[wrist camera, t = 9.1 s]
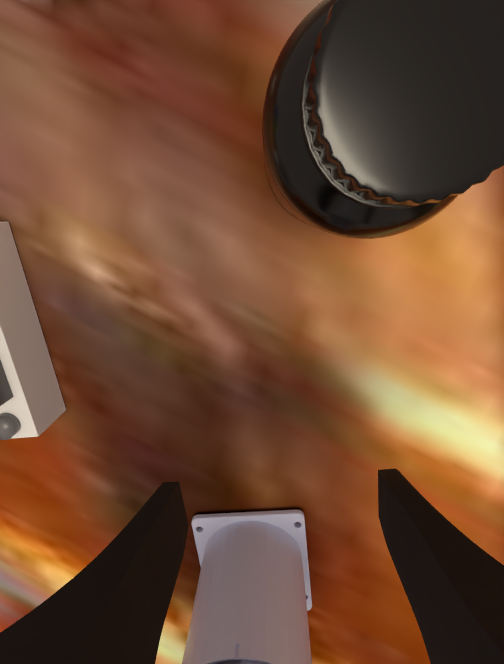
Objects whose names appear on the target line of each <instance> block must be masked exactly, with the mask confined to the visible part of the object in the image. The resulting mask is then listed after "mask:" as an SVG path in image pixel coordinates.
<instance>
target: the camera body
mask: <svg viewBox="0 0 504 664" xmlns="http://www.w3.org/2000/svg"><path fill="white" fill-rule="evenodd" d="M65 411H66V407H65V404H64V401H63V397H62V394H61V391H60V388H59V384H58V381H57V378H56V375H55V371H54V368H53V365H52V362H51V358H50V355H49V352H48V349H47V345H46V342H45V339H44V336H43V332H42V329H41V326H40V323H39V319H38V316H37V313H36V310H35V306H34V303H33V300H32V297H31V294H30V290H29V287H28V284H27V281H26V277H25V274H24V271H23V268H22V264H21V261H20V258H19V255H18V251H17V248H16V245H15V242H14V238H13V235H12V232H11V229H10V225H9V222H0V439H1V440H8V439H10V438H23V437H37V436H39V435H40V434H41V433H43V432H44V431H45V430H46V429H47V428H48V427H49V426H50V425H51V424H52V423H53V422H54V421H55V420H56V419H57V418H58V417H59V416H60V415H61V414H62V413H63V412H65Z"/></svg>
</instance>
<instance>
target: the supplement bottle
mask: <svg viewBox="0 0 504 664" xmlns="http://www.w3.org/2000/svg"><path fill="white" fill-rule="evenodd" d="M263 147H264V162H265V170H266V175H267V178H268V182H269V185H270V187H271V190H272V192H273V194H274V195H275V197H276V199H277V200H278V202H279V203H280V204H281V205H282V207H283V208H284V209H285V210H286V211H287V212H288V213H290V214H291V215H292V216H294V217H295V218H296V219H298V220H300V221H302V222H304V223H306V224H308V225H311V226H313V227H316V228H319V229H321V230H324V231H326V232H329V233H332V234H335V235H339V236H344V237H349V238H359V239H373V238H383V237H388V236H393V235H396V234H399V233H403V232H405V231H408V230H410V229H413V228H415V227H417V226H419V225H421V224H423V223H424V222H426V221H428V220H429V219H431V218H433V217H434V216H435V215H437V214H438V213H439V212H441V211H442V210H443V209H445V208H446V207H447V206H448V205H449V204H450V203H451V202H452V201H453V200H454V199H455V198H456V197H457V196H458V195H460V194H463V193H464V192H465V191H466V190H468V189H469V188H470V187H471V186H472V185H475V184H479V183H482V182H484V181H485V180H486V179H487V178H488V176H489V175H490V173H491V172H492V171H493V170H496V169H498V168H500V167H502V166H504V0H323V1H322V2H321V3H319V4H318V5H317V6H316V7H315V8H314V9H313V10H312V11H311V12H310V13H309V14H308V15H307V16H306V17H305V18H304V19H303V20H302V21H301V23H300V24H299V25H298V26H297V27H296V29H295V30H294V31H293V33H292V34H291V36H290V37H289V39H288V40H287V42H286V44H285V45H284V47H283V49H282V51H281V52H280V55H279V57H278V59H277V61H276V63H275V66H274V69H273V71H272V74H271V77H270V80H269V84H268V88H267V92H266V98H265V103H264V111H263Z"/></svg>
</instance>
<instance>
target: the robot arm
mask: <svg viewBox="0 0 504 664" xmlns="http://www.w3.org/2000/svg"><path fill="white" fill-rule="evenodd" d="M378 503H379V519H380V523H381V526H382V530H383V534H384V537H385V541H386V544H387V547H388V550H389V552H390V555H391V557H392V560H393V562H394V565H395V567H396V570H397V572H398V575H399V577H400V580H401V582H402V585H403V587H404V590H405V592H406V595H407V597H408V599H409V602H410V604H411V607H412V609H413V612H414V614H415V617H416V620H417V622H418V625H419V628H420V631H421V633H422V636H423V640H424V643H425V646H426V649H427V652H428V656H429V659H430V662H431V664H504V565H502V564H501V563H500V562H498V561H497V560H495V559H494V558H493V557H492V556H490V555H489V554H488V553H486V552H485V551H484V550H482V549H481V548H480V547H478V546H477V545H476V544H475V543H474V542H472V541H471V540H470V539H469V538H467V537H466V536H465V535H464V534H463V533H462V532H460V531H459V530H458V529H457V528H456V527H455V526H454V525H452V524H451V523H450V522H449V521H448V520H447V519H446V518H445V517H444V516H443V515H442V514H441V513H439V512H438V511H437V510H436V509H435V508H434V507H433V506H432V505H431V504H430V503H429V502H428V501H427V500H426V499H425V498H424V497H423V496H422V495H421V494H420V493H419V492H418V491H417V490H416V489H415V488H414V487H413V486H412V485H411V484H410V483H409V482H408V480H407V479H406V478H405V477H404V476H403V475H402V474H401V473H400V472H399V471H398V470H397V469H384V470H378ZM295 522H300V523H295ZM199 527H202V528H199ZM192 528H193V533H194V538H195V543H196V547H197V552H198V557H199V562H200V566H201V571H200V576H199V581H198V586H197V591H196V596H195V601H194V606H193V611H192V616H191V622H190V627H189V632H188V637H187V642H186V647H185V652H184V657H183V662H182V664H312V659H311V648H310V637H309V626H308V615H307V611H308V610H310V609H311V608H312V599H311V588H310V576H309V565H308V553H307V542H306V531H305V519H304V513H303V512H302V511H300V510H279V511H259V512H240V513H220V514H201V515H195V516H194V517H193V518H192ZM187 531H188V521H187V516H186V512H185V507H184V502H183V498H182V493H181V488H180V484H179V482H165V483H162V484H161V486H160V487H159V488H158V489H157V490H156V491H155V493H154V494H153V495H152V496H151V497H150V499H149V500H148V501H147V502H146V503H145V505H144V506H143V507H142V508H141V509H140V511H139V512H138V513H137V514H136V515H135V516H134V517H133V519H132V520H131V521H130V522H129V523H128V524H127V526H126V527H125V528H124V529H123V530H122V531H121V532H120V533H119V534H118V535H117V536H116V538H115V539H114V540H113V541H112V542H111V543H110V544H109V545H108V546H107V547H106V548H105V549H104V550H103V551H102V552H101V553H100V554H99V555H98V556H97V557H96V558H95V559H94V560H93V561H92V562H91V563H90V564H89V565H87V566H86V567H85V568H84V569H83V570H82V571H81V572H80V573H79V574H77V575H76V576H75V577H74V578H73V579H72V580H70V581H69V582H68V583H67V584H65V585H64V586H63V587H62V588H61V589H59V590H58V591H57V592H56V593H54V594H53V595H52V596H51V597H49V598H48V599H47V600H46V601H44V602H43V603H42V604H40V605H39V606H38V607H36V608H35V609H34V610H32V611H31V612H30V613H28V614H27V615H25V616H24V617H23V618H21V619H20V620H18V621H17V622H15V623H14V624H13V625H11V626H10V627H8V628H7V629H5V630H4V631H2V632H1V633H0V664H155V660H156V655H157V650H158V645H159V640H160V636H161V632H162V628H163V624H164V621H165V617H166V614H167V610H168V607H169V604H170V600H171V597H172V593H173V590H174V586H175V583H176V579H177V576H178V572H179V569H180V565H181V562H182V558H183V554H184V549H185V543H186V537H187Z"/></svg>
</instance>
